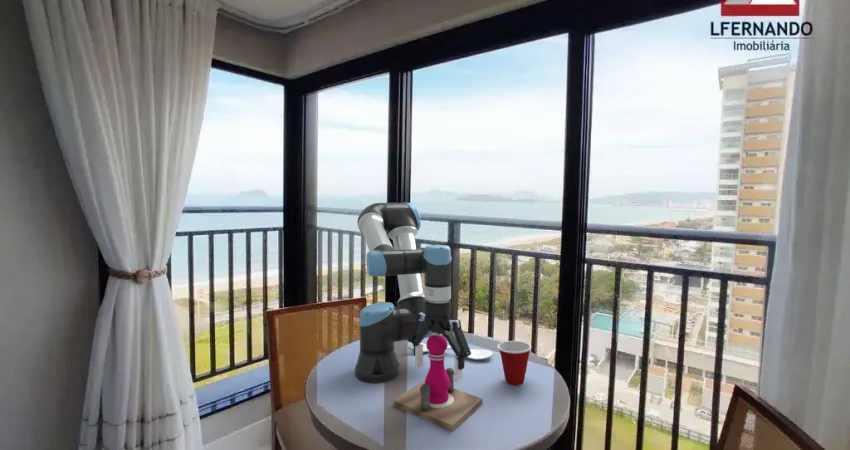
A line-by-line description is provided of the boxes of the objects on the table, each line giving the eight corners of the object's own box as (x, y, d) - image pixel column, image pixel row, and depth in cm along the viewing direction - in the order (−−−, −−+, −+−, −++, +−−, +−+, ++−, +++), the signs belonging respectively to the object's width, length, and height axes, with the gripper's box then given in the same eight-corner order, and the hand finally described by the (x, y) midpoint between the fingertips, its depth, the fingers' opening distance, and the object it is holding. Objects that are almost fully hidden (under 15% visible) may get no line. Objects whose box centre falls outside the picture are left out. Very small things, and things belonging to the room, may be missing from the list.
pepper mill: (448, 406, 100) (447, 335, 99) (422, 404, 101) (421, 333, 100) (451, 393, 107) (451, 326, 106) (427, 391, 108) (426, 325, 107)
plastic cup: (506, 370, 125) (506, 336, 125) (536, 379, 118) (536, 343, 118) (490, 382, 117) (490, 346, 116) (522, 393, 110) (522, 354, 109)
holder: (393, 405, 104) (393, 376, 103) (426, 383, 116) (426, 357, 116) (452, 431, 92) (452, 398, 91) (482, 403, 104) (482, 375, 104)
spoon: (414, 346, 148) (414, 338, 148) (493, 355, 139) (493, 346, 139) (407, 354, 139) (406, 346, 139) (490, 364, 130) (490, 355, 130)
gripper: (395, 296, 107) (396, 366, 108) (469, 310, 92) (469, 391, 93) (411, 291, 113) (412, 357, 114) (483, 303, 98) (483, 380, 99)
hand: (437, 373), depth 103 cm, fingers open, 13 cm apart
